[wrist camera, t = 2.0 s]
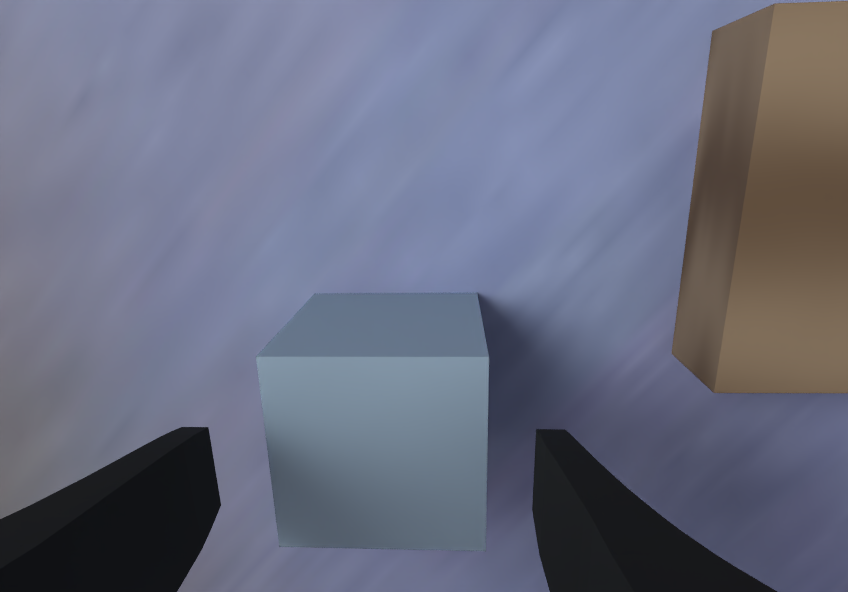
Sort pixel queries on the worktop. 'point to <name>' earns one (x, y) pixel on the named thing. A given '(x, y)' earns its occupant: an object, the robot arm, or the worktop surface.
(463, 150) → the worktop surface
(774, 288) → the walnut slab
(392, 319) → the slate cube
